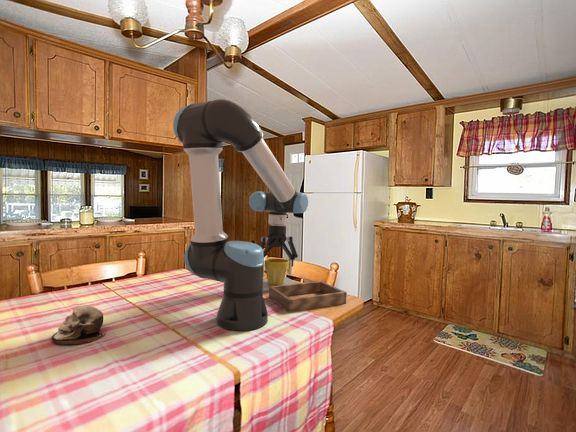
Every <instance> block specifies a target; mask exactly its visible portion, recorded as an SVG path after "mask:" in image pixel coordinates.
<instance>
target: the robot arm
mask: <svg viewBox="0 0 576 432" xmlns="http://www.w3.org/2000/svg"><path fill="white" fill-rule="evenodd" d="M172 128H173V132H174V135H175V137H176V138H177V140H178V141H179V142H180V143H181V144H182V148H183V151H184V152H185V153H186V155H188V159H189V171H190V183H191V195H192V196H191V197H192V198H191V199H192V211H193V222H194V223H193V225H194V233H193V235H192V236H191V237H190V243H189V244H188V245H187V247H186V248H187V249H186V250H185V252H184V256H183V257H184V260H183V261H184V264H185V267H186V269H187V270H188V272H189V273H190V274H192V275H193V276H197V277H199V278H200V279H204V280H205V279H207V280H210V281H211V280H212V281H214V282H215V281H216V282H220V283H223V296H222V299H221V301H220V304H219V308H218V309H217V313H216V324H217V325H218V326H220V327H221V328H223V329H226V330H230V331H239V332H240V331H241V332H242V331H243V332H244V331H252V330H256V329H259V328H261V327H264V326H265V325H266V324H267V323H268V319H269V318H268V317H269V313H268V309H267V305H266V302H265V299H264V295H263V294H264V293H263V279H264V278H265V277H264V276H265V267H264V262H265V259H266V257H267V255H268V254H269V252H270V251H271V250H272V249H273V248H281V249H282V250H283V251H284V252H285V254H286V255H287V257H288V258H287V259H286V260H289V268H288V269H287V272H286V275H289V276H292V271H293V270H292V269H293V268H292V267H294V260H295V259H298V256H299V255H298V253H297V250H296V247H295V244H294V241H293V236H291V235H288V236H286V234H287V226H286V224H287V216H288V215H287V213H288V214H289V213H290V214H304V213H305V212H306V211H307V209H308V206H309V197H308V195H307V194H306V193H304V192H300V191H297V190H296V189H295V187H294V186H293V184H292V182H291V181H290V179H289V178H288V176H287V174H286V173H285V172H284V170H283V168H282V166H281V165H280V163H279V162H278V161H277V159H276V157H275V156H274V153H273V152H272V151H271V149H270V148H269V146H268V145H267V143H266V142H265V140H264V138H263V137H264V132H263V130H262V128H261V127H260V125H259V124H258V123H257V121H256V120H255V119H254V118H253V116H252V115H251V114H250V113H249V112H248V111H246V109H244V108H243V107H242V106H241V105H239V104H237V103H235V102H233V101H231V100H228V99H225V98H224V99H222V98H218V99H214V100H208V101H202V102H196V103H191V104H188V105H185V106H183V107H181V108H180V109H179V110H178V111H176V113H175V115H174V118H173V125H172ZM223 143H228V144H230V145H231V146H232V147H233V148H234V150H235V151H236V152H238V153H242V154H243V156H244V158H245V159H246V160H247V161H248V163H249V164H250V165H251V166H252V168H253V169H254V171H255V173H257V175H258V177H260V179H261V180H262V182H263V183H264V184H265V186H266V187H267V188H268V190H269V191H262V190H260V191H253V193H251V194H250V196H249V198H248V204H249V207H250V209H251V210H252V211H255V212H268V222H267V223H268V227H267V228H268V229H267V234H268V235H267V236H261V237H260V242H259V244H257V243H255V242H250V241H242V240H230V241H229V235H228V234H227V233H225V231H224V230H223V229H224V227H223V211H222V197H221V181H220V180H221V179H220V165H219V164H220V163H219V162H220V161H219V155H220V154H221V152H223V150H224V149H223V148H224V147H223ZM286 241H287V244H288V246H287V244H286V243H285V242H286ZM267 242H268V243H267ZM266 243H267V244H266ZM265 245H266V246H265ZM288 247H289V248H288Z"/></svg>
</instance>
